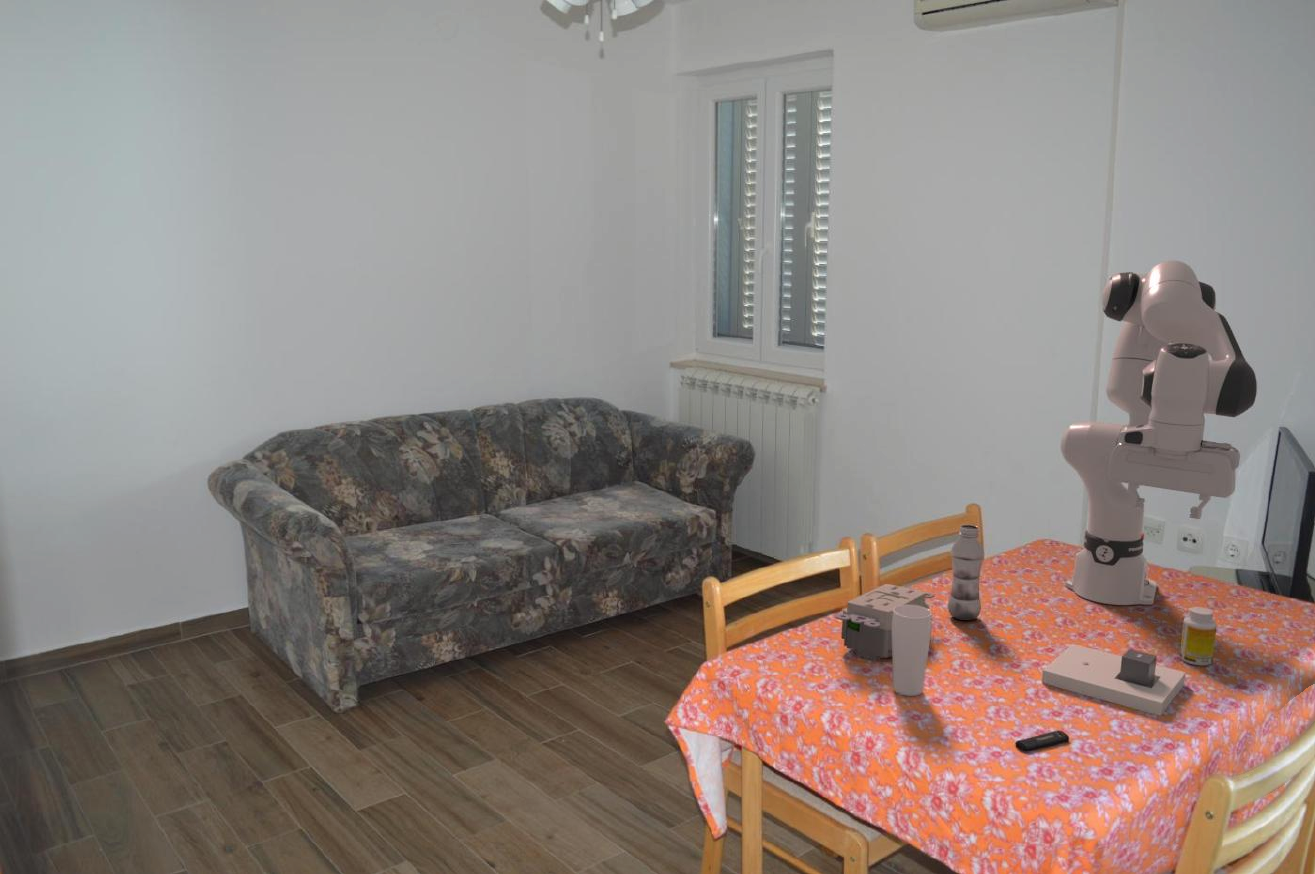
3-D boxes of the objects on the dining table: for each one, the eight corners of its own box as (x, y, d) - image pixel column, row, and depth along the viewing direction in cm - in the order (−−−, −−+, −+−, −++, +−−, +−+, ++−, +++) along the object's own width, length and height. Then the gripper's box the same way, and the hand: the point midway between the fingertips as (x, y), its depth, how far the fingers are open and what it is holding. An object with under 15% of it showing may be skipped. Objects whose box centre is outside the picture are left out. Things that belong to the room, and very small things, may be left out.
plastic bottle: (983, 623, 212) (990, 531, 208) (951, 623, 212) (957, 531, 208) (975, 612, 219) (981, 523, 215) (943, 612, 219) (949, 522, 215)
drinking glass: (920, 702, 176) (925, 620, 174) (882, 693, 180) (887, 613, 177) (932, 688, 182) (937, 608, 179) (895, 679, 186) (899, 601, 183)
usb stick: (1024, 755, 160) (1025, 746, 159) (1012, 747, 162) (1013, 738, 162) (1070, 743, 163) (1071, 734, 163) (1058, 736, 166) (1059, 727, 165)
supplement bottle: (1218, 666, 192) (1224, 615, 190) (1189, 667, 192) (1195, 615, 190) (1201, 654, 197) (1207, 604, 195) (1173, 655, 197) (1179, 605, 195)
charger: (1126, 679, 185) (1129, 648, 184) (1153, 686, 182) (1156, 655, 181) (1118, 688, 182) (1121, 656, 180) (1146, 695, 179) (1149, 663, 177)
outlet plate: (1071, 655, 197) (1072, 643, 196) (1184, 684, 184) (1185, 671, 184) (1041, 682, 185) (1042, 669, 184) (1160, 715, 172) (1161, 702, 172)
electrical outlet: (823, 656, 194) (826, 606, 193) (886, 622, 216) (890, 576, 215) (879, 672, 187) (883, 620, 186) (939, 635, 210) (943, 588, 208)
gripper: (1245, 442, 175) (1235, 519, 178) (1119, 427, 188) (1112, 499, 190) (1237, 448, 170) (1227, 527, 173) (1109, 432, 183) (1102, 506, 186)
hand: (1166, 513), depth 182 cm, fingers open, 8 cm apart
